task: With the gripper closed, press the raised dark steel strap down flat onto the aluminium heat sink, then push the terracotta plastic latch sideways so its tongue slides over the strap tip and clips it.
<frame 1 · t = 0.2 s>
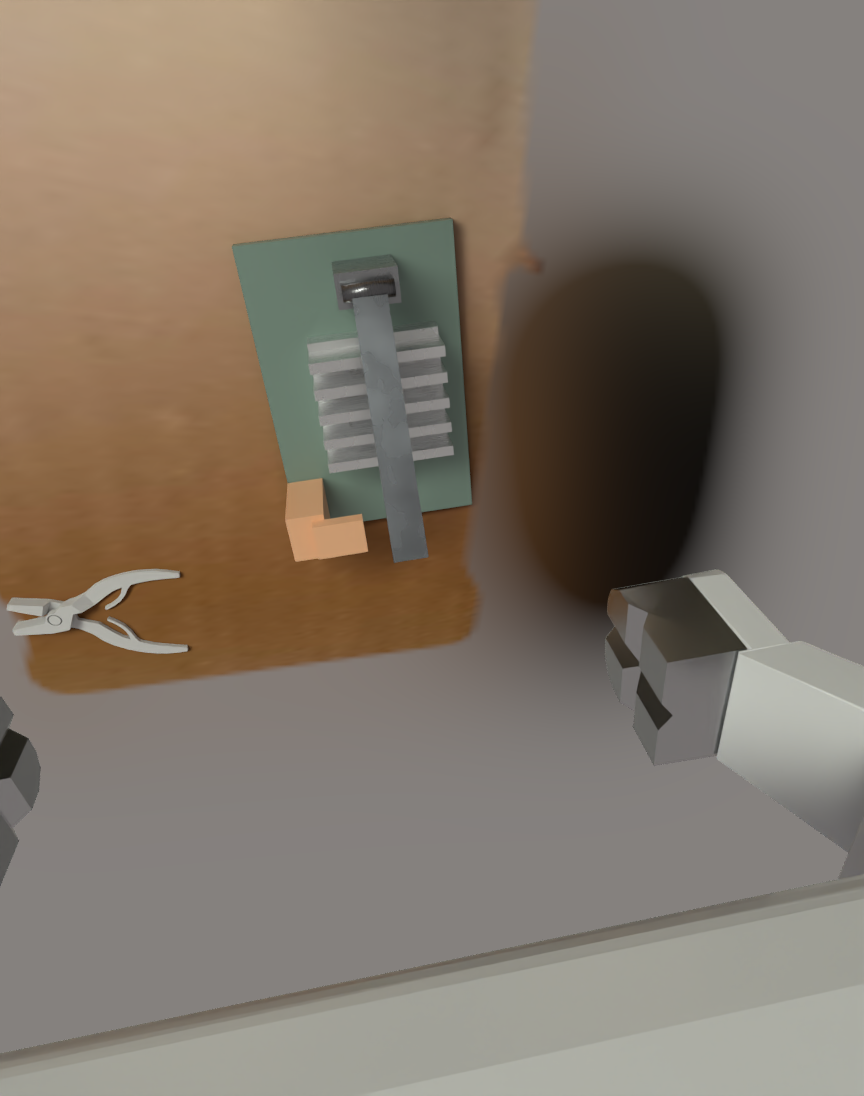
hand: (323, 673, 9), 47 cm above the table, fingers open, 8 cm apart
latch: (327, 518, 56), point 5 cm above the table, slide at 0.0 cm
heatsink: (377, 368, 52), on the board, point 3 cm above the table
pliers: (102, 608, 64), on the table
strap: (389, 422, 46), point 11 cm above the table, hinge at 30.0°
board: (366, 388, 56), on the table
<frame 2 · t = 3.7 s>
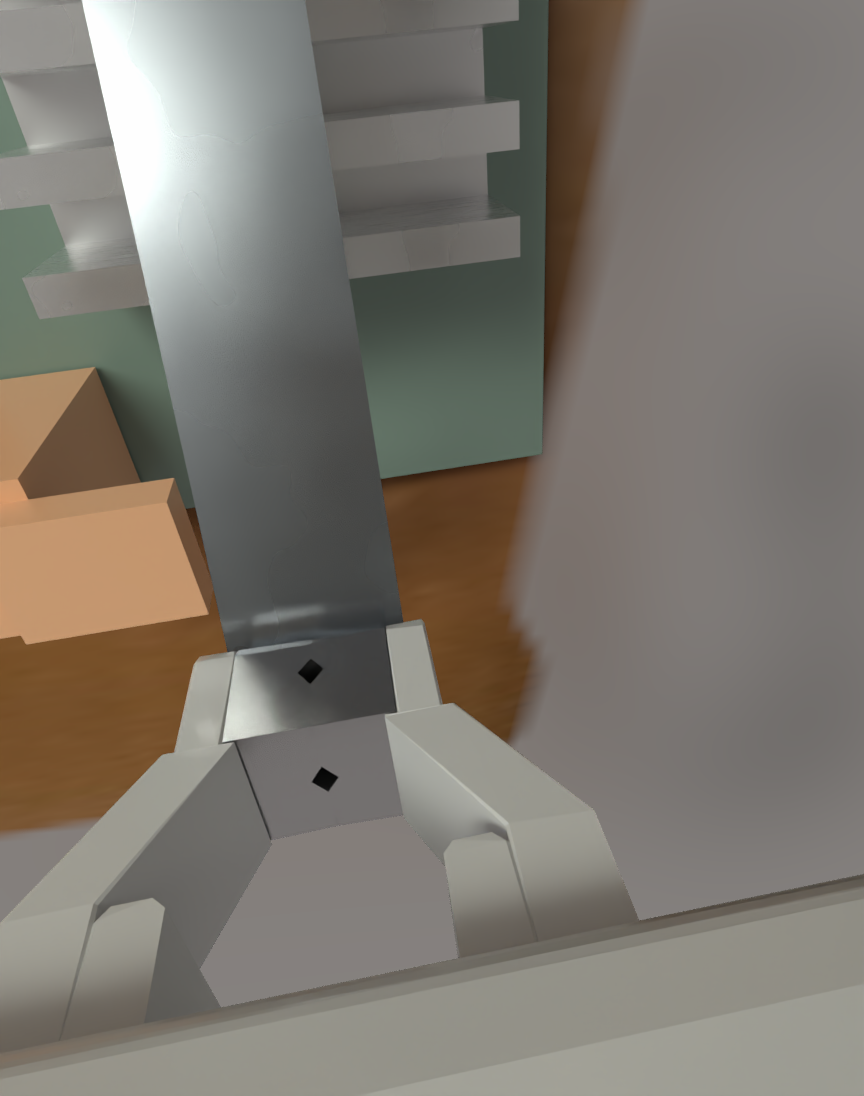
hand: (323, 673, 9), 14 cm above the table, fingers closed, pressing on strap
latch: (89, 494, 17), point 5 cm above the table, slide at 0.0 cm
board: (209, 38, 16), on the table
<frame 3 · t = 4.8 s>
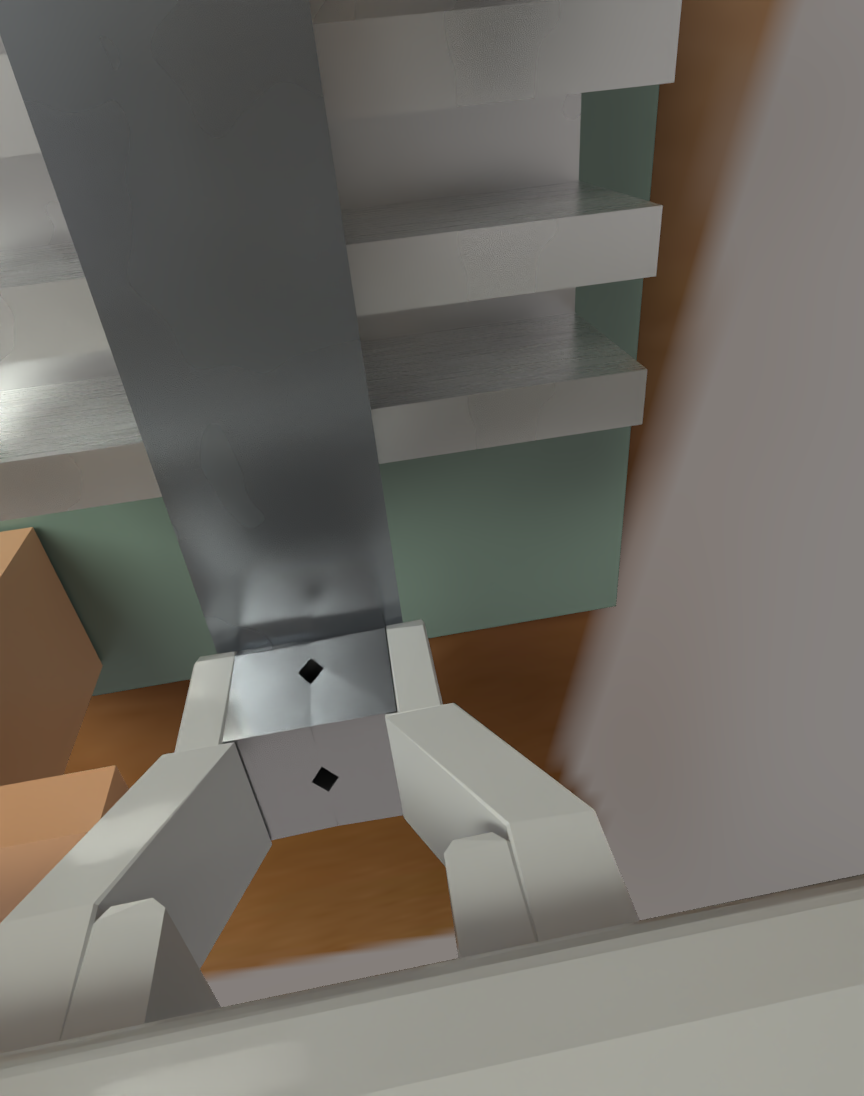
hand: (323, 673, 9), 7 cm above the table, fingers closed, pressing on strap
latch: (10, 727, 12), point 5 cm above the table, slide at 0.0 cm
strap: (179, 77, 6), point 7 cm above the table, hinge at 1.9°, touching gripper
board: (183, 99, 11), on the table
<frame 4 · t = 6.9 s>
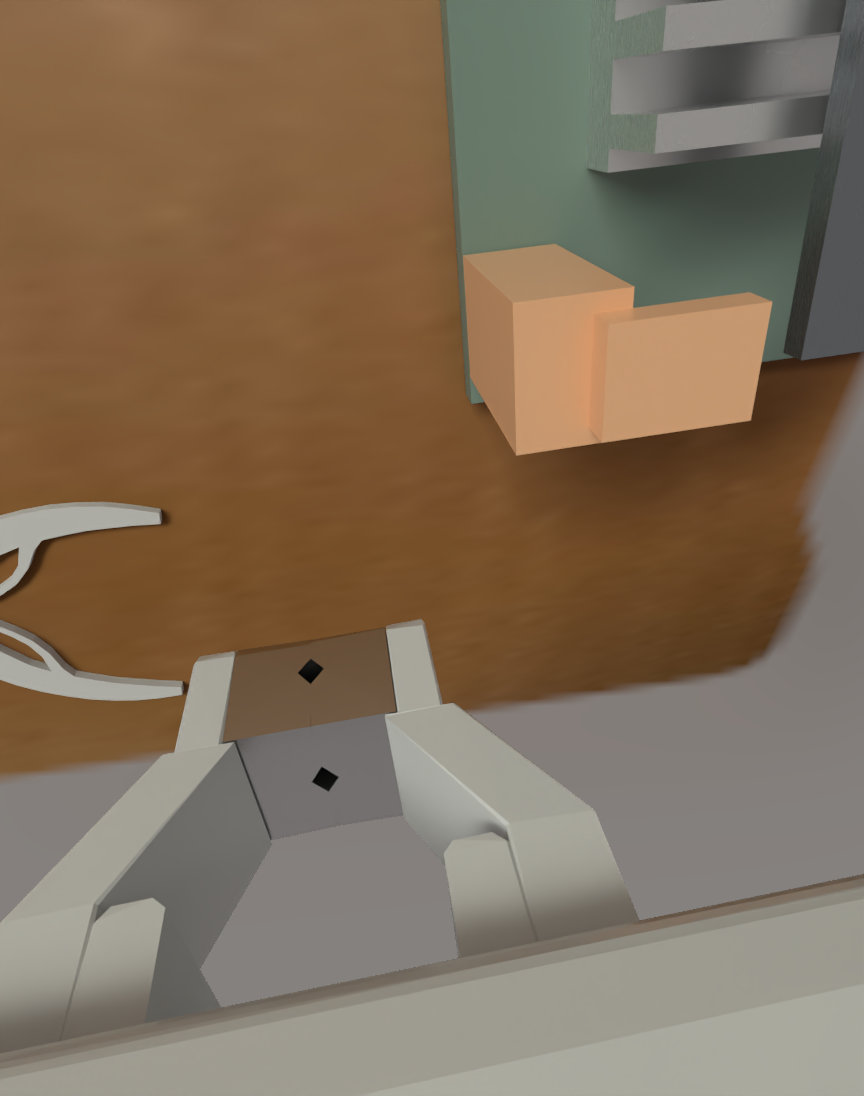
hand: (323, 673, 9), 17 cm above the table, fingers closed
latch: (592, 338, 20), point 5 cm above the table, slide at 0.0 cm
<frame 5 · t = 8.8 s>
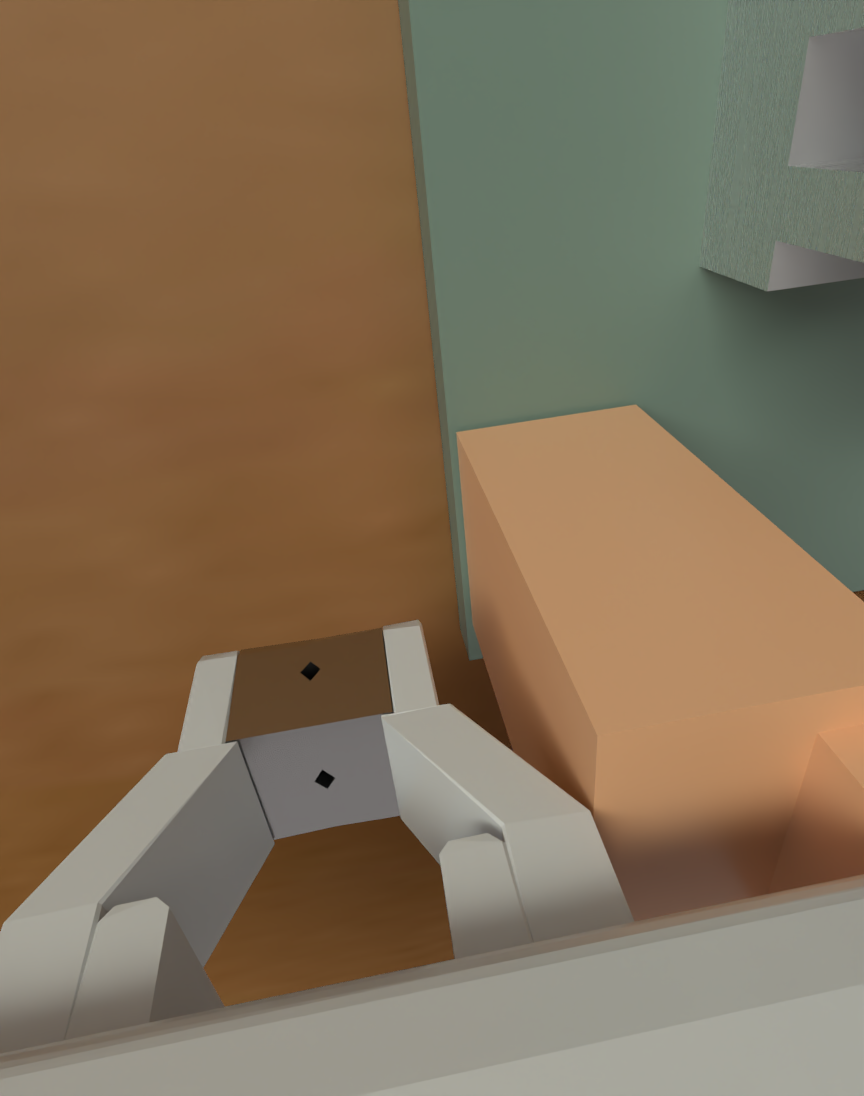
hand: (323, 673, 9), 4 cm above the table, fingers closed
latch: (737, 642, 9), point 5 cm above the table, slide at 0.1 cm, touching gripper
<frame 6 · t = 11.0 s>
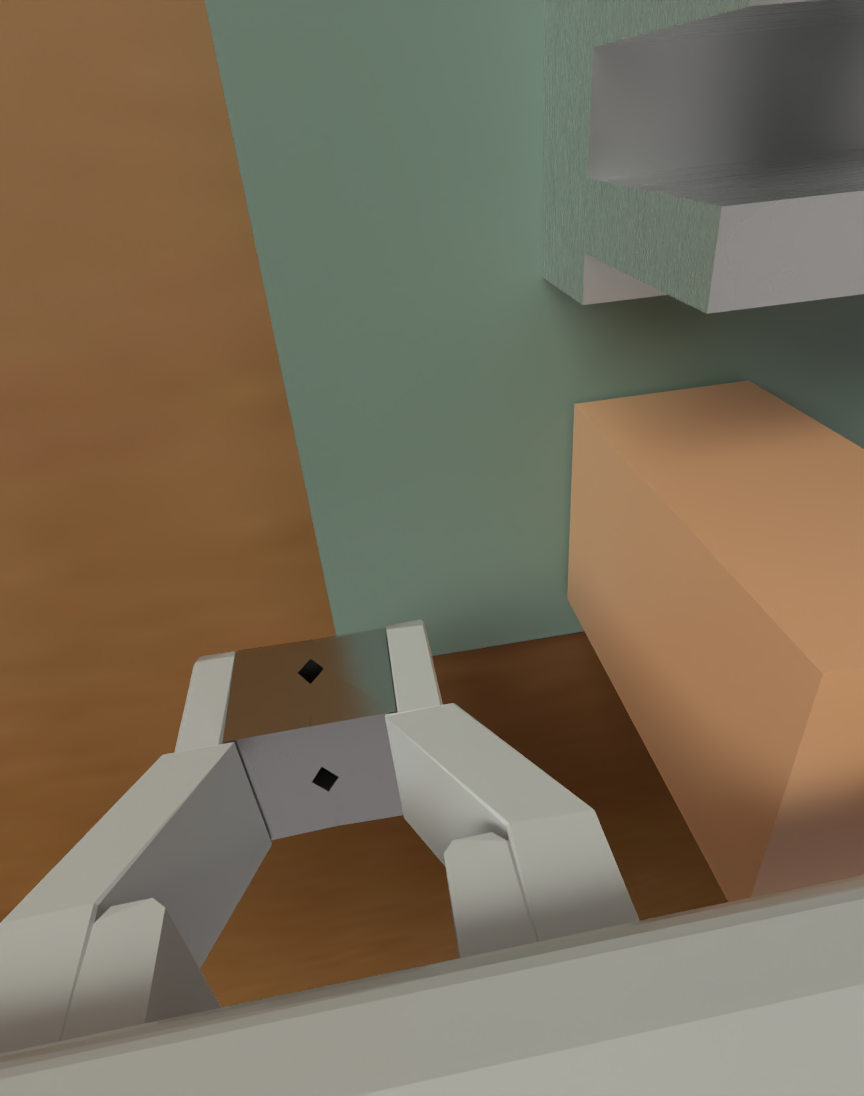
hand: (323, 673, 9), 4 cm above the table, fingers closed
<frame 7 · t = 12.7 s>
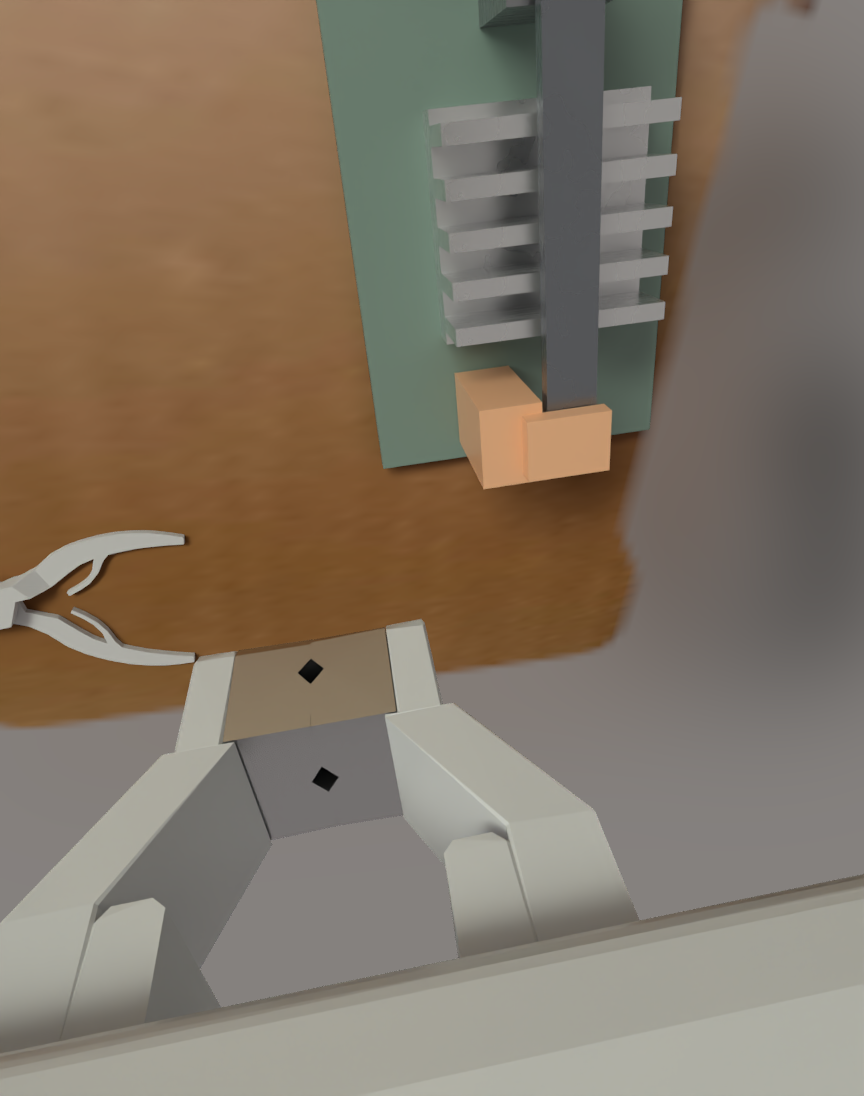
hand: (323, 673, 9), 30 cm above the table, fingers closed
latch: (527, 423, 35), point 5 cm above the table, slide at 4.5 cm
heatsink: (545, 160, 30), on the board, point 3 cm above the table
pliers: (64, 594, 42), on the table
strap: (569, 230, 28), point 7 cm above the table, hinge at 1.8°
board: (507, 221, 34), on the table
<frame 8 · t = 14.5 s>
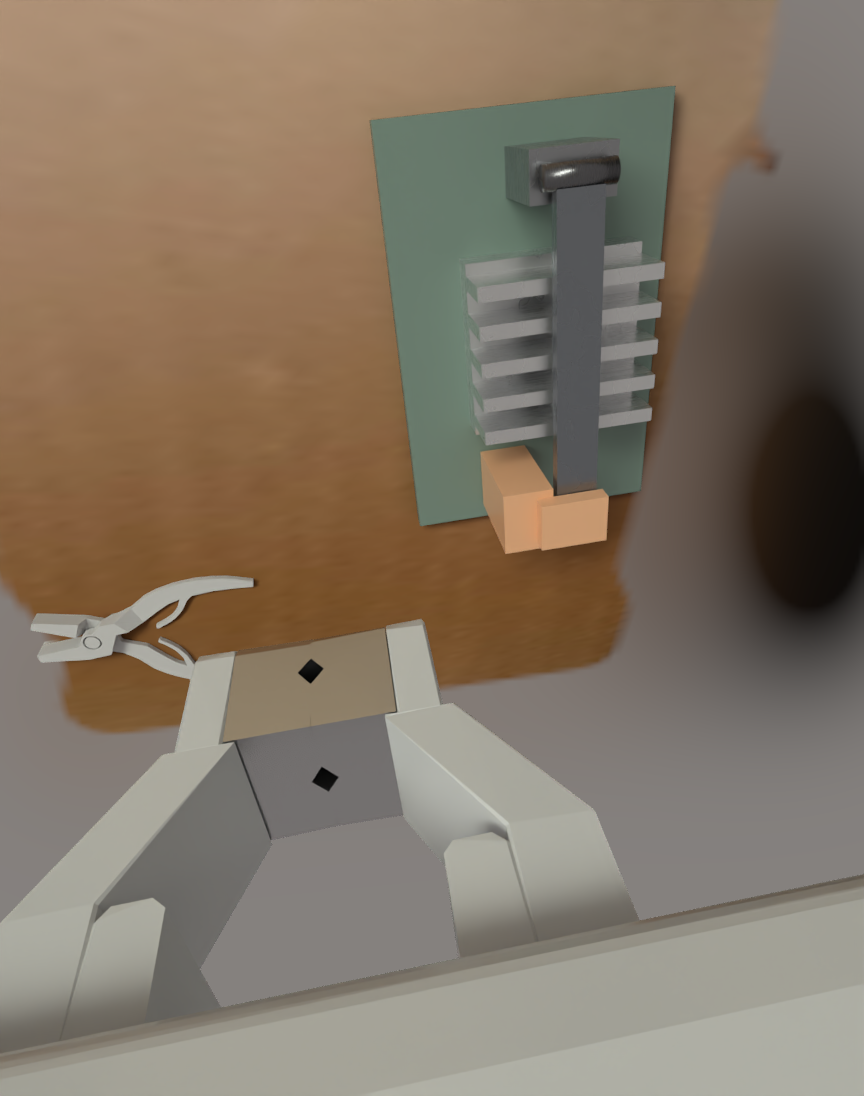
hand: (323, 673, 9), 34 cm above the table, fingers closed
latch: (540, 497, 43), point 5 cm above the table, slide at 4.5 cm
heatsink: (557, 300, 38), on the board, point 3 cm above the table
pliers: (152, 626, 50), on the table
strap: (576, 363, 36), point 7 cm above the table, hinge at 1.8°
board: (525, 333, 42), on the table
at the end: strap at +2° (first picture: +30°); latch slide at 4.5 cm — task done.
